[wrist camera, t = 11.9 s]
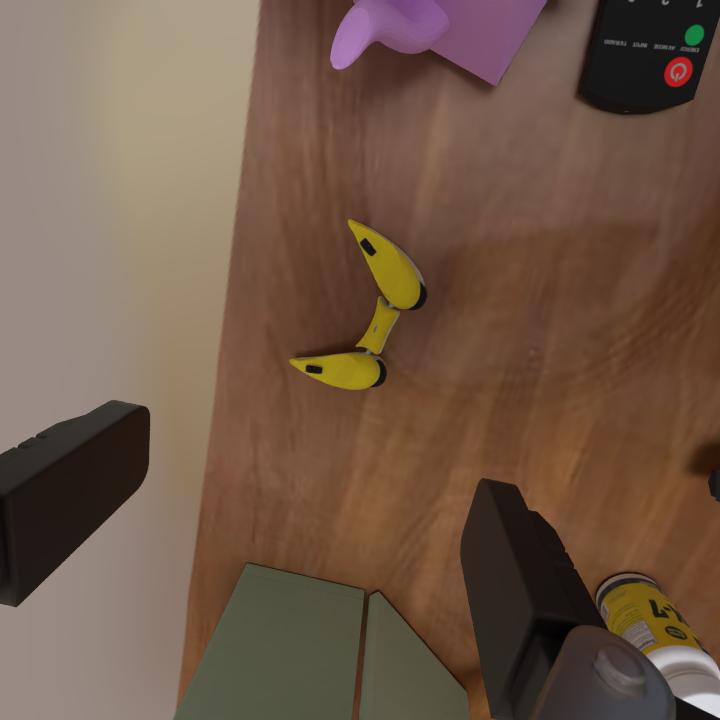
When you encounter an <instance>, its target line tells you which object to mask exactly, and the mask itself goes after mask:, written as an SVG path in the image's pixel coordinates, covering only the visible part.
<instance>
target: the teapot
mask: <svg viewBox="0 0 720 720" xmlns="http://www.w3.org/2000/svg"><path fill="white" fill-rule="evenodd" d="M353 2H354V6H353V7H352V8H351V9H350V10H349V12H348V13H347V14H346V16H345V17H344V19H343V21H342V22H341V24H340V26H339V28H338V30H337V33H336V35H335V38H334V41H333V44H332V49H331V63H332V66H333V67H334V68H335V69H339V70H341V69H345V68H347V67H348V66H349V65H351V64H352V63H353V62H354V61H355V60H356V59H357V58H358V57H359V56H360V55H361V54H362V52H363V51H364V50H365V49H366V48H367V47H368V46H369V45H370V44H371V43H373V42H375V41H380V42H381V43H383V44H384V45H385V46H387V47H389V48H391V49H393V50H396V51H398V52H401V53H406V54H417V53H420V52H423V51H425V50H428V49H430V50H432V51H434V52H436V53H438V54H439V55H441V56H443V57H445V58H446V59H448V60H450V61H452V62H454V63H455V64H457V65H459V66H461V67H462V68H464V69H466V70H468V71H469V72H471V73H473V74H475V75H476V76H478V77H480V78H482V79H484V80H485V81H487V82H489V83H491V84H492V85H494V86H497V84H498V83H499V81H500V79H501V78H502V76H503V74H504V73H505V71H506V69H507V68H508V66H509V64H510V63H511V61H512V59H513V58H514V56H515V54H516V53H517V51H518V49H519V47H520V46H521V44H522V42H523V41H524V39H525V37H526V36H527V34H528V32H529V31H530V29H531V27H532V26H533V24H534V22H535V20H536V19H537V17H538V15H539V14H540V12H541V10H542V9H543V7H544V5H545V4H546V2H547V0H353Z"/></svg>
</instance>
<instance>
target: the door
mask: <svg viewBox="0 0 720 720" xmlns="http://www.w3.org/2000/svg"><path fill="white" fill-rule="evenodd" d="M359 720H471V717H470V710H469V703H468V696H467V692H466V691H465V690H464V689H463V687H462V686H461V685H460V684H459V683H458V682H457V680H456V679H455V678H454V677H453V676H452V675H451V674H450V672H449V671H448V670H447V669H446V668H445V667H444V666H443V664H442V663H441V662H440V661H439V660H438V659H437V658H436V656H435V655H434V654H433V653H432V652H431V651H430V649H429V648H428V647H427V646H426V645H425V644H424V643H423V641H422V640H421V639H420V638H419V637H418V636H417V635H416V633H415V632H414V631H413V630H412V629H411V628H410V627H409V625H408V624H407V623H406V622H405V621H404V620H403V618H402V617H401V616H400V615H399V614H398V613H397V612H396V610H395V609H394V608H393V607H392V606H391V605H390V604H389V602H388V601H387V600H386V599H385V598H384V597H383V595H382V594H381V593H380V592H379V591H378V592H376V593H374V594H372V595H370V596H369V606H368V617H367V629H366V640H365V651H364V663H363V674H362V686H361V697H360V709H359Z"/></svg>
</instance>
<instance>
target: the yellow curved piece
mask: <svg viewBox="0 0 720 720" xmlns="http://www.w3.org/2000/svg"><path fill="white" fill-rule="evenodd" d="M348 225H349V227H350V229H351V230H352V231H353V233H354V235H355V236H356V239H357V241H358V243H359V245H360V247H361V249H362V251H363V254H364V256H365V258H366V260H367V262H368V264H369V267H370V269H371V271H372V273H373V275H374V277H375V280H376V282H377V284H378V286H379V288H380V289H381V291H382V292H383V294H384V296H385V297H386V299H387V300H388V301H389V302H390V303H389V305H388V304H387V303H386V302H385V300H384V298H383V297H382V296H379V297H378V303H377V307H376V311H375V315H374V317H373V320H372V322H371V324H370V326H369V328H368V330H367V332H366V333H365V335H364V336H363V338H362V339H361V340H360V341H359V343H358V344H357V345H356V346H355V347H365V348H367V351H366V352H352V353H342V354H334V355H327V356H318V357H300V358H296V359H290V360H289V361H290V363H291V364H292V365H293V366H295V367H296V368H298V369H299V370H301V371H302V372H304V373H306V374H308V375H309V376H311V377H313V378H316V379H318V380H320V381H322V382H324V383H327V384H329V385H332V386H336V387H339V388H344V389H350V390H360V389H365V388H368V387H377V386H379V385H381V384H383V383H384V381H385V379H386V376H387V370H386V369H387V368H386V364H385V362H384V360H383V359H382V358H381V357H379V356H378V355H375V354H380V353H381V351H382V350H383V348H384V345H385V342H386V340H387V337H388V335H389V333H390V331H391V329H392V327H393V326H394V324H395V322H396V321H397V319H398V317H399V316H400V311H399V310H396V309H393V307H394V306H395V307H397V308H400V309H406V310H417V309H419V308H420V307H422V306H423V304H424V303H425V301H426V298H427V291H426V288H425V283H424V280H423V277H422V275H421V272H420V271H419V270H418V268H417V267H416V265H415V264H414V262H413V261H412V260H411V259H410V258H409V257H408V256H407V255H406V254H405V253H404V252H403V251H402V250H401V249H400V248H399V247H398V246H396V245H395V244H394V243H392V242H391V241H390V240H389V239H387V238H386V237H384V236H382V235H381V234H379V233H378V232H376V231H375V230H373V229H371V228H369V227H367V226H365V225H363V224H361V223H359V222H356V221H354V220H351V219H349V220H348ZM371 352H373V353H374V354H372V353H371Z"/></svg>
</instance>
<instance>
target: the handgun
mask: <svg viewBox="0 0 720 720" xmlns="http://www.w3.org/2000/svg"><path fill="white" fill-rule="evenodd" d="M708 484H709V488H710V492H711V496H714V497H716V501H719V502H720V470H719V469H717V471H714V470H713V471H712V473H711V476H710V478H709V481H708Z"/></svg>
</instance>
